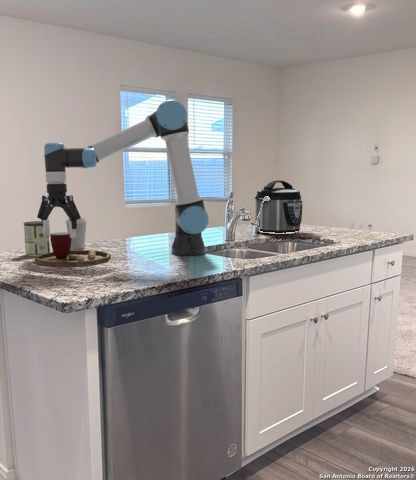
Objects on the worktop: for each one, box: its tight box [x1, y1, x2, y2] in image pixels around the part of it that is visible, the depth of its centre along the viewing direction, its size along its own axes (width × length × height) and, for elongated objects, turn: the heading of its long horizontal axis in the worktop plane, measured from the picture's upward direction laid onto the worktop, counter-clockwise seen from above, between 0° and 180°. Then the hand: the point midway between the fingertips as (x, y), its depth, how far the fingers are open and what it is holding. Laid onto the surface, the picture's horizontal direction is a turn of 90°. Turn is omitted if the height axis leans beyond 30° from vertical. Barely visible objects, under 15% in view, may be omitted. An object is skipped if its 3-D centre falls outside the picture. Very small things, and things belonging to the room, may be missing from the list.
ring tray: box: [34, 249, 112, 268], centre depth 188 cm, size 28×28×3 cm
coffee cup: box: [65, 216, 88, 250], centre depth 217 cm, size 10×10×15 cm
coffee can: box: [23, 220, 51, 257], centre depth 206 cm, size 10×10×14 cm
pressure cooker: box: [254, 179, 303, 233], centre depth 286 cm, size 30×28×32 cm
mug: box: [49, 232, 72, 259], centre depth 191 cm, size 11×8×10 cm
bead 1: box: [76, 255, 84, 262], centre depth 182 cm, size 3×3×3 cm
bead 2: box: [88, 253, 95, 260], centre depth 186 cm, size 3×3×3 cm
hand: (59, 236), depth 190 cm, fingers open, 13 cm apart
